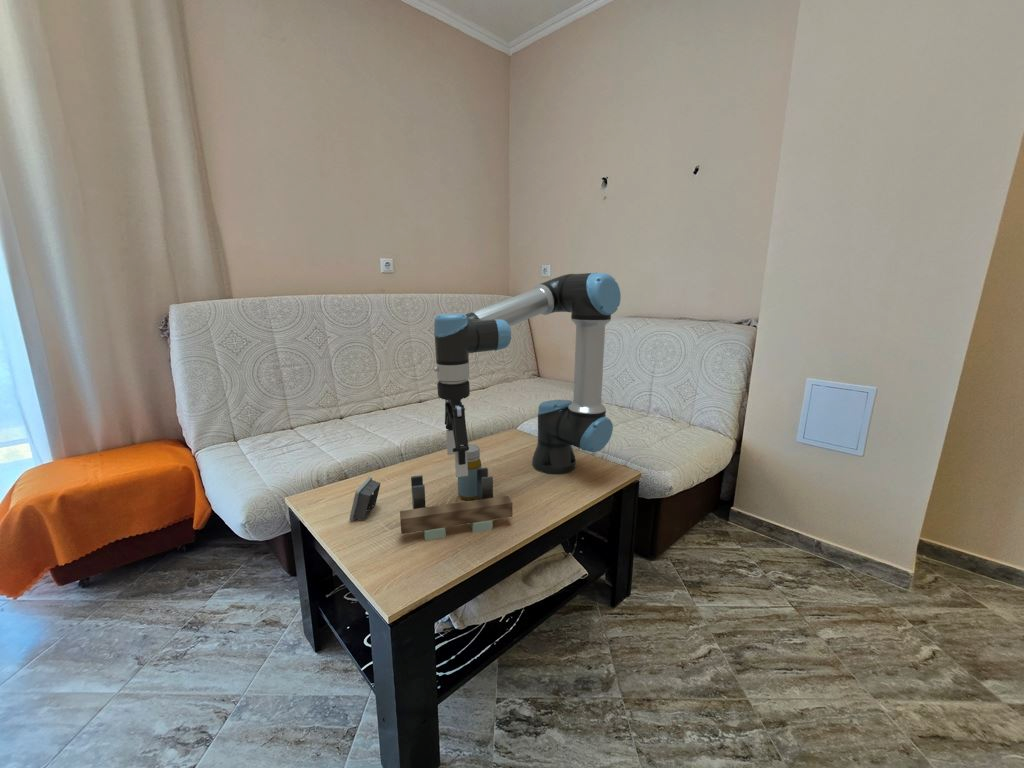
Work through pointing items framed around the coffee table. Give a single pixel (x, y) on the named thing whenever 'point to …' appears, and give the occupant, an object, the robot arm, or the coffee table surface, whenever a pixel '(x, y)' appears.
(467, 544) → the coffee table surface
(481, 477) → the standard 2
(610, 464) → the coffee table surface
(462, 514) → the rail
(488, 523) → the blocks
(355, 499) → the electrical switch
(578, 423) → the robot arm
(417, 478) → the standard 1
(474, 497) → the bottle
